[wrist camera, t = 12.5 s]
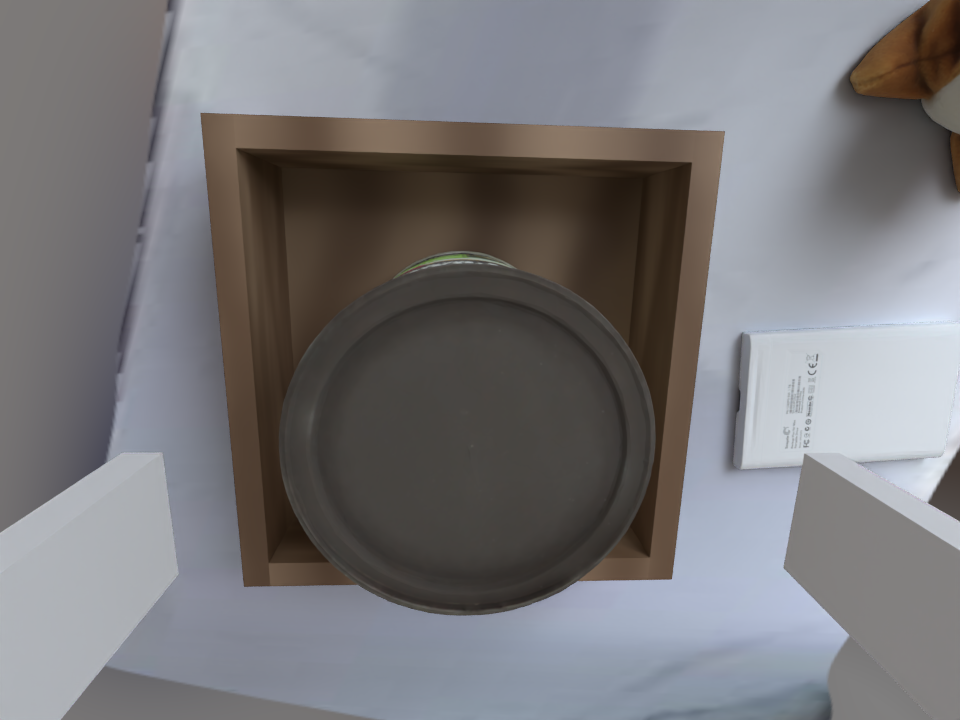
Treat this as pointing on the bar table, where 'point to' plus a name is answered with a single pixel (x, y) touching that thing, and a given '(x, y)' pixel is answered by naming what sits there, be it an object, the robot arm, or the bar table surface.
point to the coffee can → (467, 437)
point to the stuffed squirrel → (920, 67)
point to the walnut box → (444, 228)
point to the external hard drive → (846, 393)
